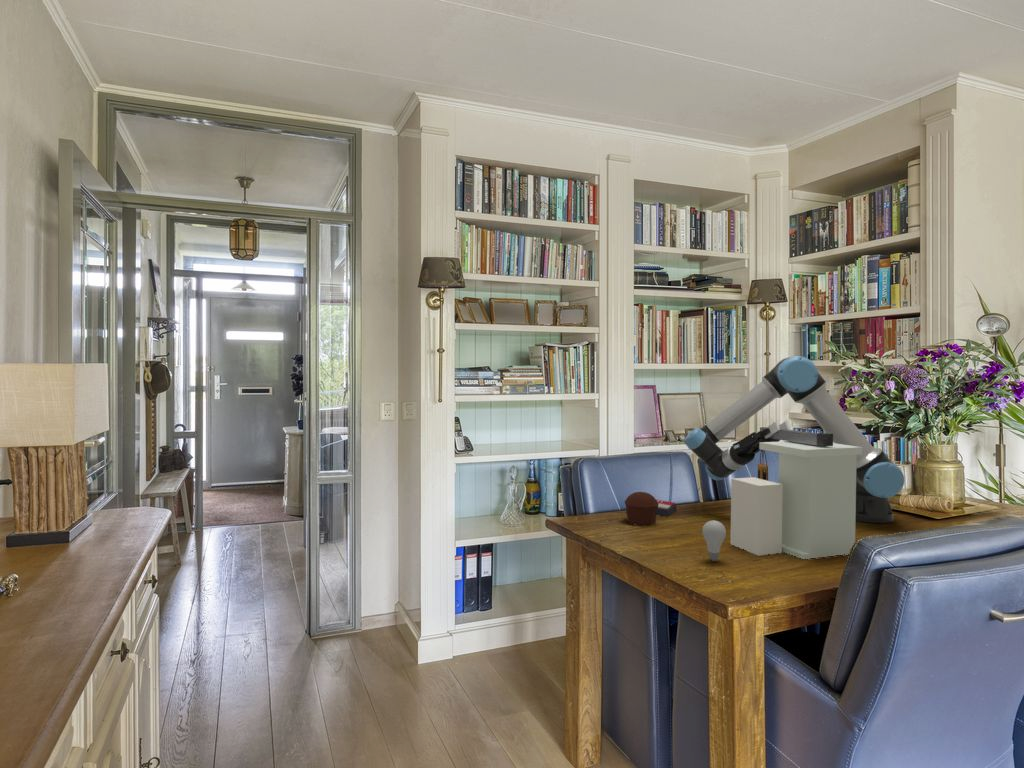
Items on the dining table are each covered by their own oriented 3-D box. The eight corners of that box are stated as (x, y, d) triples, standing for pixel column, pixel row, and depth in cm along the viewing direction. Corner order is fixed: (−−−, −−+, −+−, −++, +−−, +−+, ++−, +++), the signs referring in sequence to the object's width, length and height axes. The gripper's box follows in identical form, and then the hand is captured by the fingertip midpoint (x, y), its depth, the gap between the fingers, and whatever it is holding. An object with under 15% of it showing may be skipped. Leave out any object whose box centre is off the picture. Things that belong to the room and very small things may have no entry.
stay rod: (759, 436, 202) (759, 426, 201) (768, 436, 203) (768, 425, 203) (823, 446, 177) (823, 434, 177) (832, 445, 178) (833, 433, 178)
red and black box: (668, 507, 223) (627, 500, 230) (667, 519, 223) (626, 512, 231) (677, 502, 232) (637, 495, 240) (676, 513, 232) (636, 506, 240)
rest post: (730, 544, 188) (731, 478, 188) (753, 542, 191) (753, 477, 190) (758, 555, 177) (759, 485, 176) (781, 553, 179) (782, 484, 179)
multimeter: (789, 501, 249) (789, 450, 249) (762, 500, 251) (762, 450, 251) (781, 494, 264) (781, 446, 263) (755, 493, 266) (756, 445, 265)
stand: (758, 542, 190) (759, 442, 189) (811, 537, 197) (813, 440, 196) (803, 560, 173) (804, 449, 172) (860, 553, 179) (862, 447, 179)
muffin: (665, 525, 211) (665, 495, 211) (634, 527, 208) (635, 497, 207) (647, 517, 222) (647, 488, 222) (618, 519, 219) (618, 490, 219)
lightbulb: (698, 558, 175) (698, 518, 174) (720, 557, 175) (720, 517, 175) (707, 565, 168) (707, 523, 168) (729, 564, 169) (730, 523, 169)
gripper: (762, 464, 215) (808, 435, 195) (721, 466, 210) (765, 437, 190) (754, 444, 218) (799, 413, 198) (715, 445, 213) (756, 414, 193)
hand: (782, 425), depth 194 cm, fingers closed on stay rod, 3 cm apart
